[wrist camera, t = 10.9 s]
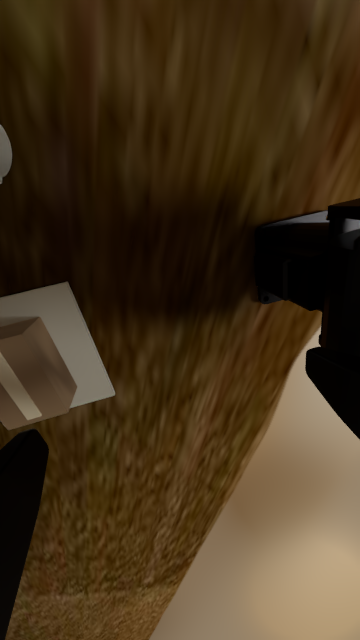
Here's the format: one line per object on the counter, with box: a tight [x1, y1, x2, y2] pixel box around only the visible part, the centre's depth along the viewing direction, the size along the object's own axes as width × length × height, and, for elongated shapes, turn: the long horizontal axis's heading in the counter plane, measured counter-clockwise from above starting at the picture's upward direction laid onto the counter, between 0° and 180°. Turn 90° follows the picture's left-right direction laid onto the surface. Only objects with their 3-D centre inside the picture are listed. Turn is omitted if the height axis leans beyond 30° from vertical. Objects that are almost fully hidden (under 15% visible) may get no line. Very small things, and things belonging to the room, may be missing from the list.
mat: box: [0, 281, 115, 425], centre depth 18 cm, size 10×11×1 cm
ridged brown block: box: [0, 317, 77, 430], centre depth 17 cm, size 7×4×3 cm, turn 13°
